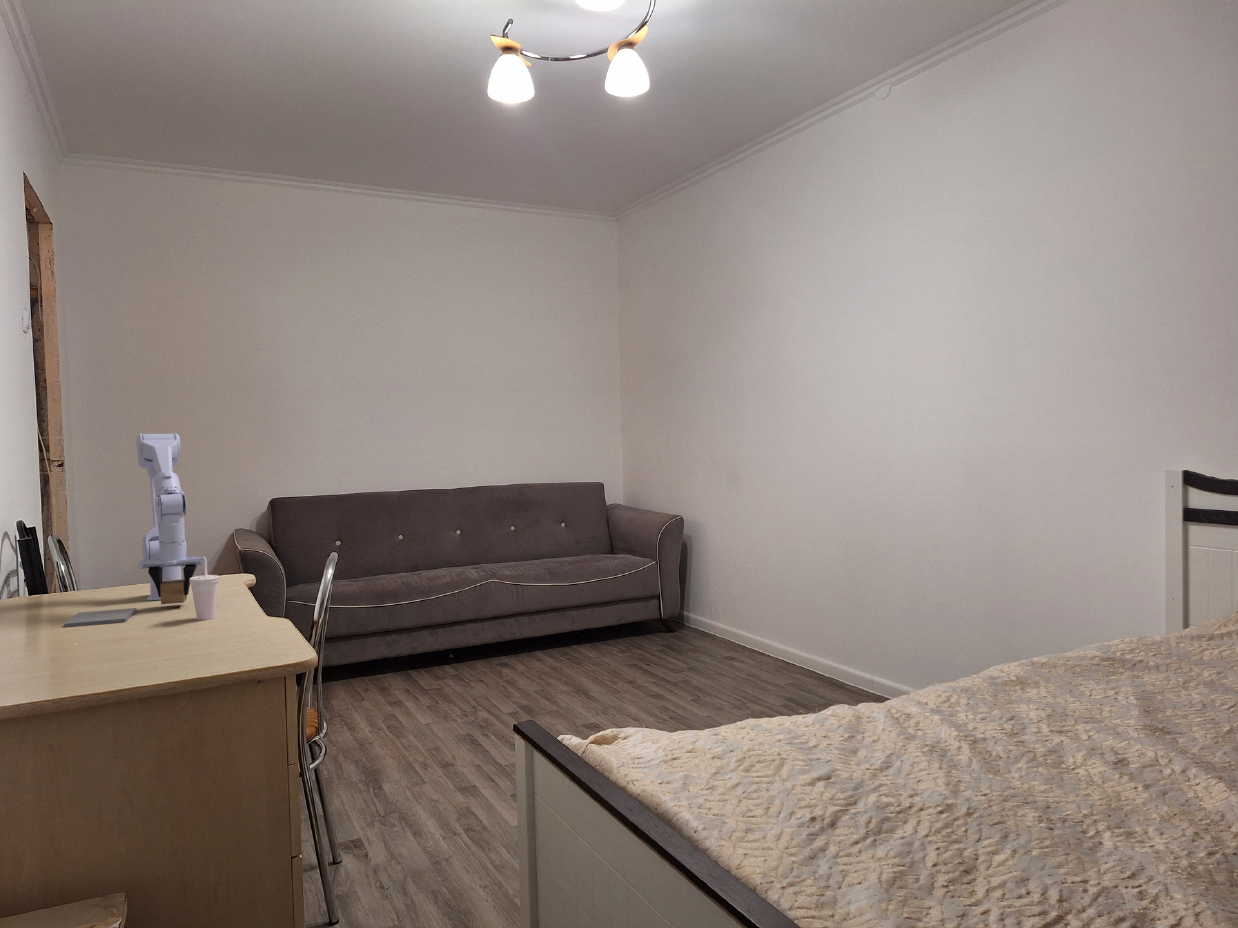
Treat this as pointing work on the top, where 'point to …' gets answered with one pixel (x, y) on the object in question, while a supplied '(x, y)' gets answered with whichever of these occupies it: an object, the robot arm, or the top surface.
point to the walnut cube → (172, 591)
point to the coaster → (100, 617)
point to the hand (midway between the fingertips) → (173, 595)
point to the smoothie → (205, 594)
